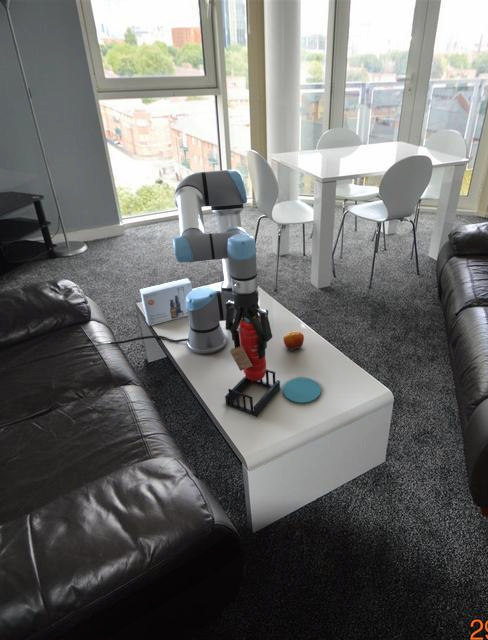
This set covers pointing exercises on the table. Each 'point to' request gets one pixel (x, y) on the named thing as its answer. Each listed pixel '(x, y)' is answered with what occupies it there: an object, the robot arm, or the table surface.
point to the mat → (301, 390)
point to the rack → (260, 404)
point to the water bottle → (249, 352)
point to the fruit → (293, 340)
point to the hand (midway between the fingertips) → (250, 352)
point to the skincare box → (165, 301)
